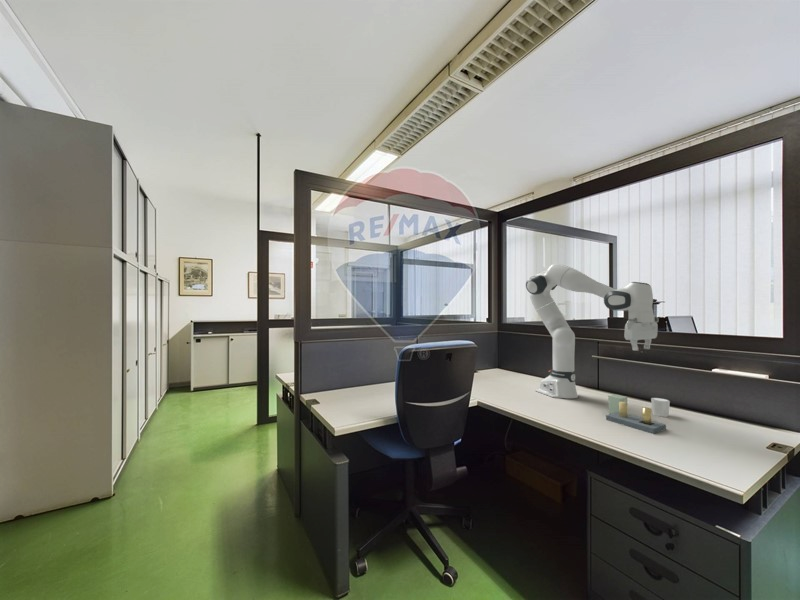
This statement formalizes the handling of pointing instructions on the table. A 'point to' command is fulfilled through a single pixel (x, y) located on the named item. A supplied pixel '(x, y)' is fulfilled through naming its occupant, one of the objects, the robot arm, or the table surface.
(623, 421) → the pin board
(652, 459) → the table surface
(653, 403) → the shot glass
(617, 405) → the block
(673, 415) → the table surface
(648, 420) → the pin
